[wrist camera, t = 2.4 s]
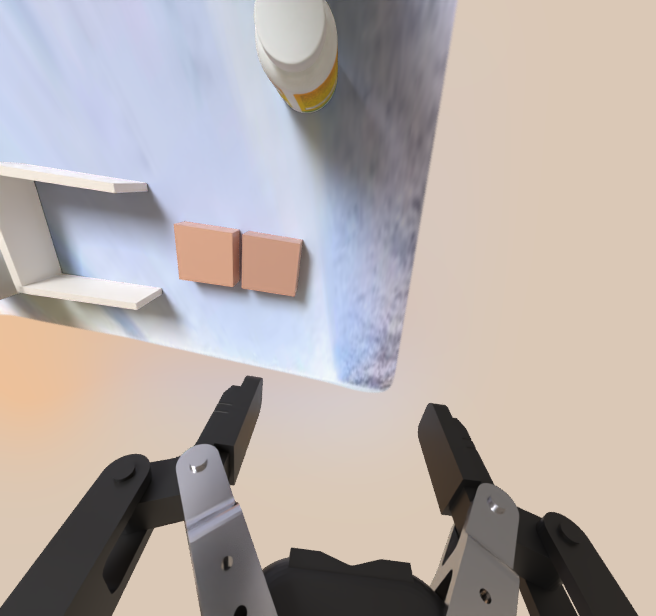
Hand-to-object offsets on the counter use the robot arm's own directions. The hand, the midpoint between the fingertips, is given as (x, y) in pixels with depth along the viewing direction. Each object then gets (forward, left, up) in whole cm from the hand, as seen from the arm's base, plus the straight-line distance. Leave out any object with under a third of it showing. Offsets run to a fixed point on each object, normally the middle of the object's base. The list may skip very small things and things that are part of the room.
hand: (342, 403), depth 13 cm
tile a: (0, -15, -20) cm, 25 cm away
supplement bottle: (-17, -6, -20) cm, 27 cm away
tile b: (0, -8, -20) cm, 22 cm away
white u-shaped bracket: (0, -28, -20) cm, 34 cm away
